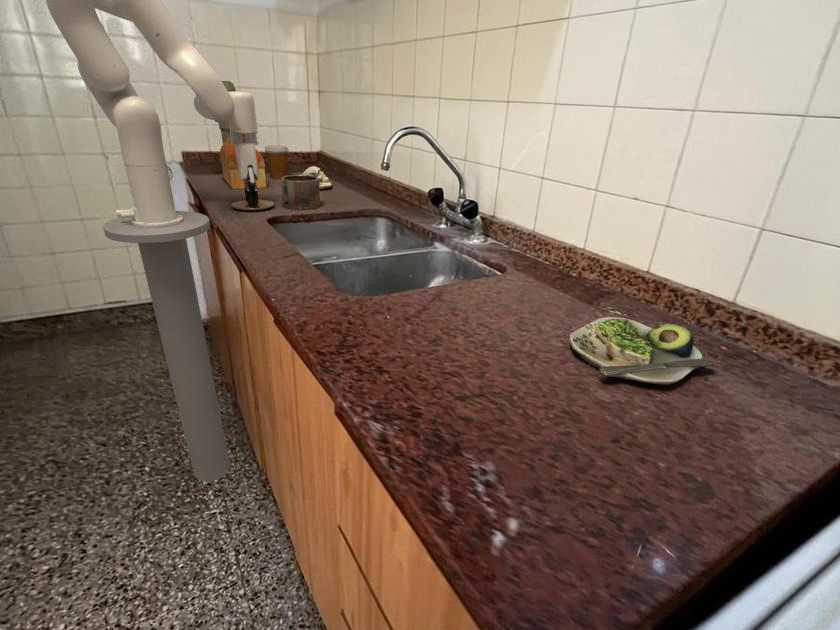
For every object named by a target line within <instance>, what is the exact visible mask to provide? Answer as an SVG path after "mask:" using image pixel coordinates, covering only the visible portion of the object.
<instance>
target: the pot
mask: <svg viewBox="0 0 840 630" xmlns="http://www.w3.org/2000/svg"><path fill="white" fill-rule="evenodd" d="M280 183H281V191H282V192H281V193H282V203H283V206H284V207H285V208H288V209H291V210H310V209H311V210H312V209H316V208H320V206H321V189H320V186H319V178H318V177H315V176H309V175H303V174H293V175H291V174H290V175H287V176H284V177H282V178H280Z"/></svg>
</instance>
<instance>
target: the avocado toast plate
mask: <svg viewBox="0 0 840 630" xmlns="http://www.w3.org/2000/svg"><path fill="white" fill-rule="evenodd" d="M568 340H569V343H570V345H571V348H572V349H573V350H574V351H575V352H576V353H577V354H578V355H579V356H580V358H581V359H582V360H583V361H585V362H586V363H587V364H589V365H590V366H592V367H594V368H597V369H598V371H599V373H600V374H601V375H602V376H605V377H608V378H609V377H610V378H611V377H613V378H614V377H615V378H617V379H621V380H626V381H627V380H628V381H633V382H634V381H635V382H639V383H646V384H654V385H662V386H668V385H672V384H675V383H677V382H679V381H681V380H683V379H685V377H686V376H688V375H689V374H690V373H692V372H693V371H695V370H698V369H702V368H706V367H711V366H713V365H716V364H717V362H716V361H717V360H716V359H715V358H713V357H704V356H703V354H702V352H701V351H700V350H699V349H698V347H696V346H694V336H693V334H692V332H691V330H689V329H688V328H686V327H685V326H682V325H678V324H675V323H663V324H659V325H658V327H650V326H648V325H645V324H643V323H640V322H639V321H636V320H633V319H630V318H624V317H619V316H616V317H615V316H612V317H611V316H607V317H605V316H604V317H600V318H597V319H596V320H593V321H591V322H590V323H588V324H586V325H584V326H582V327H581V328H578V329H575V331H573V332H572V333H570V335H569V339H568Z"/></svg>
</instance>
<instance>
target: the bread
mask: <svg viewBox="0 0 840 630" xmlns="http://www.w3.org/2000/svg"><path fill="white" fill-rule="evenodd" d="M256 157H257V166H258V180H256V187H257V189H259V188H267V180H266V179H267V178H266V164H265V161H264V158H263V156H262V154H261V153H260V152H259V150H257V149H256ZM219 160H220V162H221V163H220V164H221V167H222V169H221V170H222V177H223V179H224V180H225V182H227V183H228V184H229V187H230V188H231V189H232V190H240V189H242V190H243V189H244V188H245V185H244V181H242V180H241V179H240V178H239V176H238V170H237V161H236V150H235V145H232V143H231V139H228V140H227V141H226V142H224V144H223V143H222V146H221V147H220V151H219Z"/></svg>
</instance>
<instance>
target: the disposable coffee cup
mask: <svg viewBox="0 0 840 630" xmlns="http://www.w3.org/2000/svg"><path fill="white" fill-rule="evenodd" d="M289 151H290V150H289V148H288V146H287V145H274V144H273V145H266V146H264V152H265V155H266V160H267V164H268V169H269V173H270V177H271V178H273V179H281V178H282V177H284V176H288V161H289V160H288V158H289V157H288V156H289Z"/></svg>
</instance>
